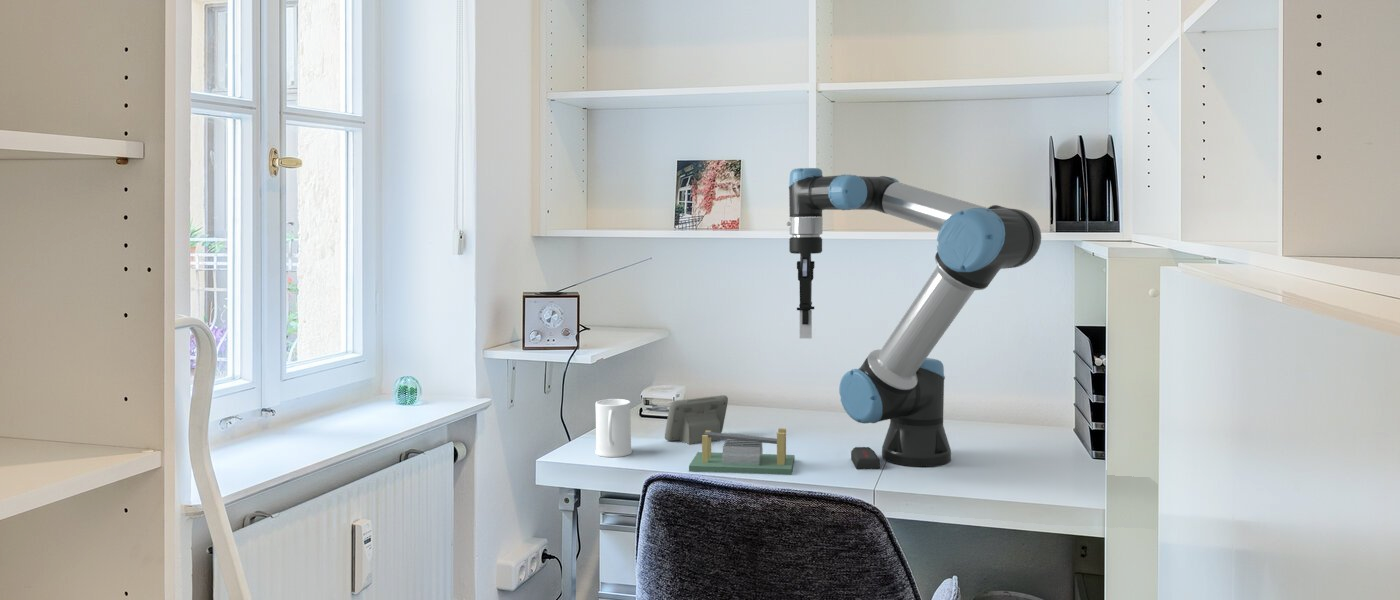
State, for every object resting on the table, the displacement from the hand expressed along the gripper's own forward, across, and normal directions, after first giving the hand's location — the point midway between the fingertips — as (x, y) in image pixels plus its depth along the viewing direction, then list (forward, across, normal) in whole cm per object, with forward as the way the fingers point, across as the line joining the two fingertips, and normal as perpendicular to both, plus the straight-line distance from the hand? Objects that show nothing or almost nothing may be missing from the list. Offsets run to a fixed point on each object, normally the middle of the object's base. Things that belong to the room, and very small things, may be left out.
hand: (805, 337), depth 219 cm
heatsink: (+25, +16, -13) cm, 33 cm away
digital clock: (+27, -8, -27) cm, 39 cm away
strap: (+21, +16, -13) cm, 29 cm away
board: (+26, +16, -13) cm, 34 cm away
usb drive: (+27, +10, +14) cm, 32 cm away
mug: (+27, +10, -44) cm, 52 cm away
